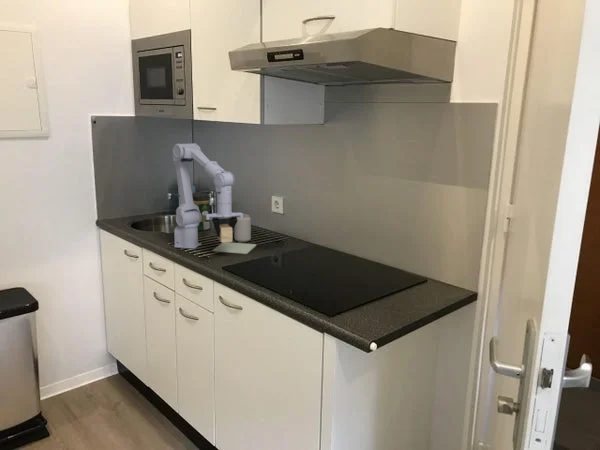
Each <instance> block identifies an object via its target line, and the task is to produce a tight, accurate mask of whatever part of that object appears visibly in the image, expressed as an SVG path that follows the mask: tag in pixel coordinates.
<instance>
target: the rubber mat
mask: <svg viewBox="0 0 600 450" xmlns="http://www.w3.org/2000/svg"><path fill="white" fill-rule="evenodd" d="M256 246H257V244H255V243H245V242H222V243H221V244H219V245H218V246H216V247H215V248H213V249H212V252H215V253H216V252H219V253H233V254H243V255H247V254H248V253H250V252H251V251H252V250H253V249H254V248H255V247H256Z"/></svg>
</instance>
